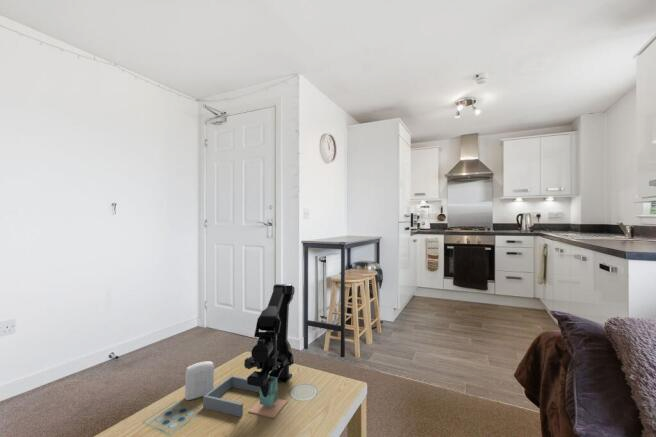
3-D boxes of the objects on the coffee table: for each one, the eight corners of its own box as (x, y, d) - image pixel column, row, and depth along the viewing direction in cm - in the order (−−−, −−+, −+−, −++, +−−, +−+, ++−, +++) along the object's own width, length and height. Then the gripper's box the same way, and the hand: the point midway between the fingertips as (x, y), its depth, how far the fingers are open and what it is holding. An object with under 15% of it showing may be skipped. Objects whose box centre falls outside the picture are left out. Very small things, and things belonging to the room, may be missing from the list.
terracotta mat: (263, 396, 114) (263, 395, 114) (287, 401, 111) (287, 400, 111) (248, 412, 105) (248, 411, 105) (274, 418, 101) (274, 417, 101)
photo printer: (212, 388, 120) (212, 357, 120) (214, 393, 117) (215, 361, 117) (184, 396, 114) (184, 364, 115) (185, 402, 111) (186, 368, 111)
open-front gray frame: (231, 385, 123) (231, 375, 123) (265, 392, 117) (265, 381, 117) (203, 407, 108) (203, 396, 108) (241, 416, 102) (241, 405, 102)
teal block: (266, 397, 111) (266, 375, 111) (277, 399, 109) (277, 377, 110) (259, 404, 107) (259, 381, 107) (270, 406, 105) (271, 383, 105)
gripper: (263, 337, 120) (262, 377, 119) (233, 357, 102) (233, 403, 102) (288, 341, 116) (288, 381, 116) (262, 361, 99) (262, 410, 98)
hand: (268, 393), depth 108 cm, fingers closed on teal block, 4 cm apart
